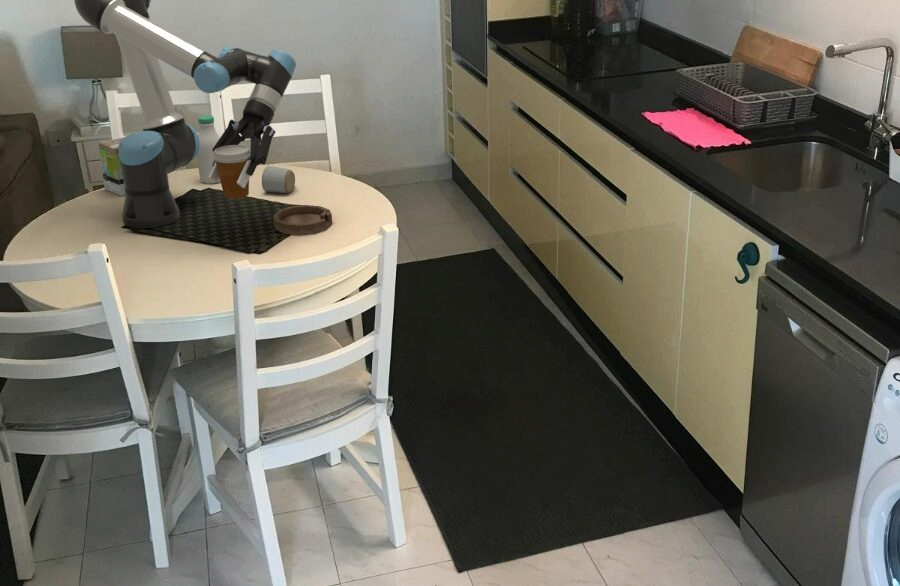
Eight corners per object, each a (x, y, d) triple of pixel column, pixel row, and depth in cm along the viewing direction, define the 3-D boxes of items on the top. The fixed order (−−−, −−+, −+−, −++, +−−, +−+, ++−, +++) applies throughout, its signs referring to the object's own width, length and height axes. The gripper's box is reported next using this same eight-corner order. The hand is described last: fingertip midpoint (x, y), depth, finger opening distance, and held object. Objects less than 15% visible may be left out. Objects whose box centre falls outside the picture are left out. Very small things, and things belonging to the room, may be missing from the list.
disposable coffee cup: (210, 199, 245) (205, 153, 240) (228, 187, 254) (223, 143, 248) (244, 202, 243) (239, 156, 238) (261, 190, 251) (257, 145, 246)
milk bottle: (230, 180, 298) (224, 116, 289) (209, 186, 293) (202, 121, 284) (216, 174, 303) (209, 112, 294) (195, 180, 298) (187, 117, 289)
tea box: (122, 197, 284) (114, 148, 278) (104, 189, 290) (96, 142, 284) (166, 184, 294) (160, 137, 288) (148, 177, 300) (141, 131, 294)
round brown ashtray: (277, 237, 254) (276, 227, 253) (271, 217, 267) (271, 208, 266) (335, 231, 258) (335, 221, 256) (327, 212, 271) (326, 203, 270)
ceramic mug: (287, 196, 283) (285, 171, 280) (261, 194, 285) (259, 169, 282) (301, 186, 293) (299, 161, 290) (276, 184, 295) (274, 159, 291)
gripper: (301, 119, 248) (267, 196, 242) (238, 109, 258) (203, 183, 252) (286, 103, 241) (250, 182, 236) (222, 93, 251) (186, 169, 246)
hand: (226, 182), depth 244 cm, fingers closed on disposable coffee cup, 9 cm apart
